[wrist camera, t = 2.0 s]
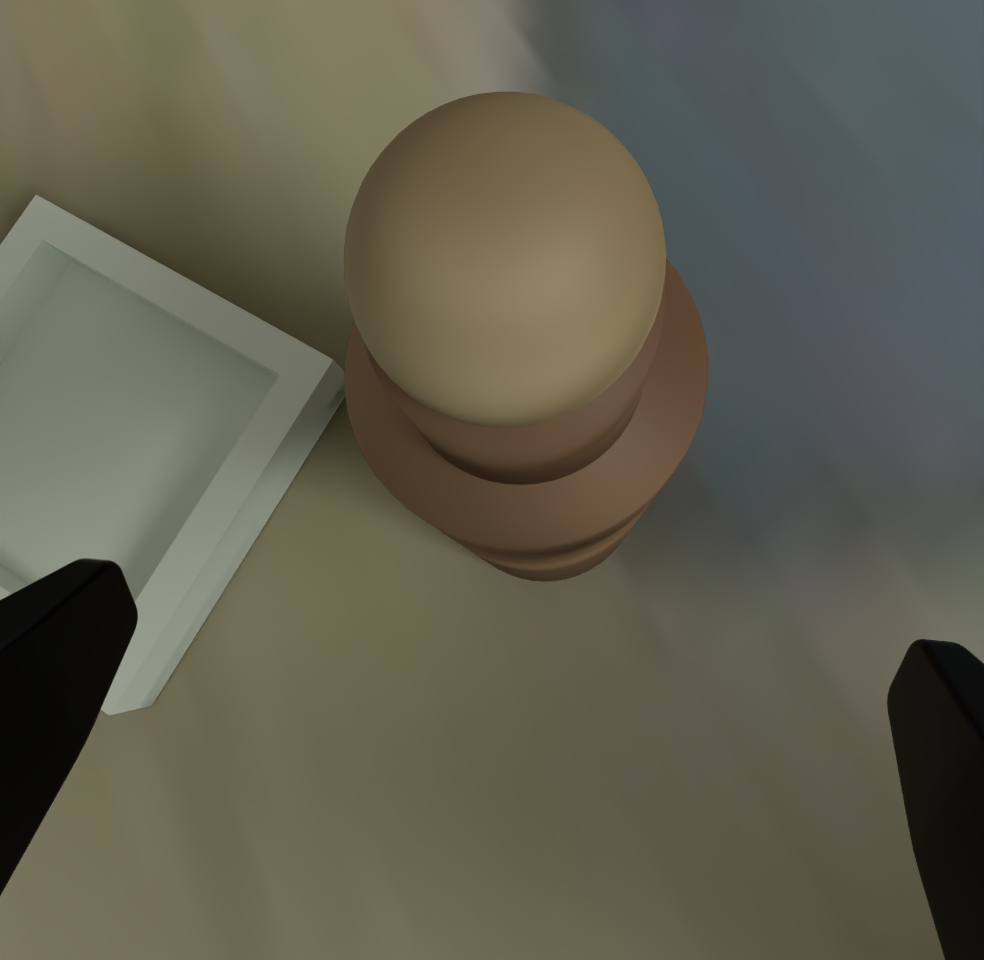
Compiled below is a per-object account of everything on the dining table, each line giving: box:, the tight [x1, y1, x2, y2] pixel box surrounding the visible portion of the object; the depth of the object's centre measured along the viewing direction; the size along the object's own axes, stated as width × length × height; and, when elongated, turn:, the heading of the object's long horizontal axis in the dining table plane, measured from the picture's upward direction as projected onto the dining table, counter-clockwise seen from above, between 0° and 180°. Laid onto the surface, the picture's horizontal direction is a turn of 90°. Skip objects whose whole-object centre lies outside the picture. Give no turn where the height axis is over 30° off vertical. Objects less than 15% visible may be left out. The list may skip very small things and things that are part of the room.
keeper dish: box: [0, 195, 345, 715], centre depth 19 cm, size 10×10×2 cm
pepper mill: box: [344, 92, 708, 581], centre depth 12 cm, size 5×5×14 cm
